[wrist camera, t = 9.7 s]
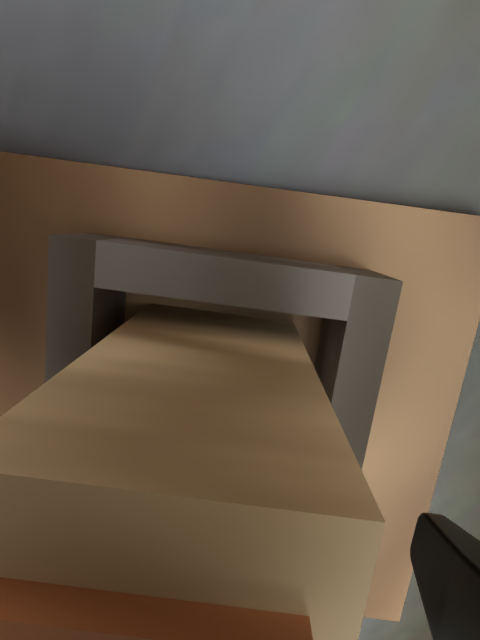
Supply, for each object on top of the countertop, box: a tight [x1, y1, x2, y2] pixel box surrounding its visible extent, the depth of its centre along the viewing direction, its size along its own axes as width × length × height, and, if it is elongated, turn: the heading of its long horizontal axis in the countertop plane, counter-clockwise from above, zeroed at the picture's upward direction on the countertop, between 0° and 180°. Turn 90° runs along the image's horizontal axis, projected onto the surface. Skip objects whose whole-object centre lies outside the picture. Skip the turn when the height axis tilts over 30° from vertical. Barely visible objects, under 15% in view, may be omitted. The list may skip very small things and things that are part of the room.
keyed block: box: [0, 303, 386, 640], centre depth 8 cm, size 4×6×8 cm, turn 173°
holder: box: [0, 151, 480, 621], centre depth 11 cm, size 14×13×4 cm
